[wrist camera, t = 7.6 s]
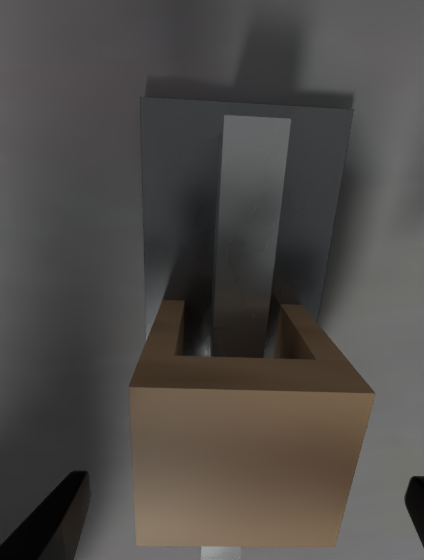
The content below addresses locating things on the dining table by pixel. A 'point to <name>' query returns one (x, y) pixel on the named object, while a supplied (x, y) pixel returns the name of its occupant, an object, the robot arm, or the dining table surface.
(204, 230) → the rail
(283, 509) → the walnut clip
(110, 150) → the dining table surface
